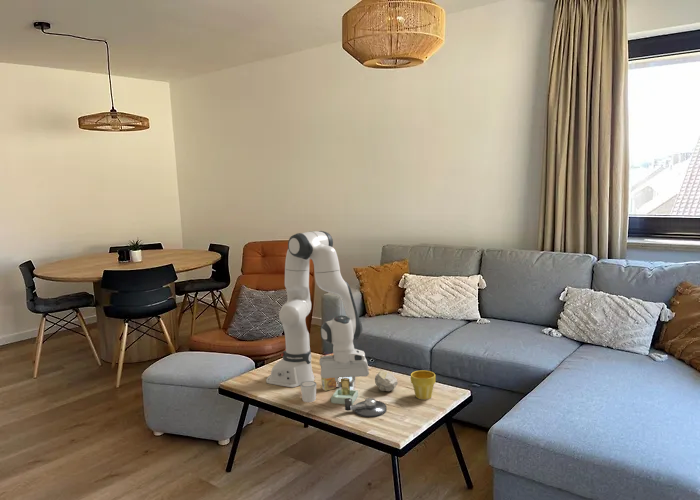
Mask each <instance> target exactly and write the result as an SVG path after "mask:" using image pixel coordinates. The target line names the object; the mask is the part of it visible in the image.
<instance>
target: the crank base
mask: <svg viewBox="0 0 700 500" xmlns="http://www.w3.org/2000/svg"><path fill="white" fill-rule="evenodd" d="M357 404H365V400H363V401H359V402H357V403H356V404H355V405H357ZM387 408H388V407H387V404H386V403H384V402H382V401H380V400H379V401H378V400H376V408H374V409H366V408H364V409H356V410H353V411H354V413H355V414H356V415H357V416H360V417H364V418H376V417H380V416H383V415H384V414H386V412H387Z"/></svg>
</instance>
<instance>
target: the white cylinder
mask: <svg viewBox="0 0 700 500" xmlns="http://www.w3.org/2000/svg"><path fill="white" fill-rule="evenodd" d="M299 386H300V393H301V399H302V402H304V403H313V402H314V401H316V399H317V382H316V381H305V382H302V383H301V384H300V385H299Z"/></svg>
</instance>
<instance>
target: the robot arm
mask: <svg viewBox="0 0 700 500" xmlns="http://www.w3.org/2000/svg"><path fill="white" fill-rule="evenodd" d="M333 245H334V240H333V237H332V235H331V234H330V233H329V232H327V231H323V230H318V231H315V230H313V231H311V230H309V231H306V232H297V233H295V234H292V235H291V236H290V237H289V239H288V240H287V251H286V256H285V261H284V262H285V263H284V287H285V290H286V296H287V300H286V302H285V303H284V304H283V305H282V306H281V308H280V310H279V313H278V317H279V321H280V322H281V324H282V329H283V332H284V337H285V339H284V340H285V349H284V350H283V352H282V353H281V357H282V358H281V359H280V360H278V361H277V362H276V363H275V364H274V365H273V367H272V369H271V373H270V374H269V375H268V377H266V380H265V381H266V384H270V385H275V386H281V387H288V388H296V387H298V386H300V384H301V383H302V382H305V381H314V380H315V379H316V378H315V377H316V376H315V375H314V373H313V367H312V350H311V347H310V345H311V344H310V333H309V330H308V327H307V323H306V318H307V317H308V316H309V314H310V313H311V310H312V301H311V293H310V292H311V291H310V260H312V263H313V270H314V279H315V282H316V286H318V288H319V289H321V290H322V291H324V292H327V293H330V294H334V295H337V296H339V297H340V298H341V301H342V304H343V307H344V311H345V315H340V314H339V315H336V316H334V317H333V318H332V319H331V320H328V321H327V320H326V321H324V322H323V323H322V325H321V326H320V337H321V339H322V340H323V341H324V342H326V343H327V344H332V345H333V347H332V351H333V352H332V353H333V355H331V356H323V357H321V358H319V361H318V362H319V365H320V377H322V378H335V381H336V382H337V384H338V387H340V388H341V382H339V381H338V378H339V377H342V378H351V380H350V388H352V387H354V382H355V380H356V378H357V377H367V376H368V375H369V374H370V372H369V365H368V363H369V362H368V360H367V358H366V353H365V351H364V350H361V349H357V348H355V345H354V340H358V339H359V338H360V337H361V335H362V333H363V331H364V330H363V325H362V321H361V319H360V317H359V314H358V310H357V306H356V304H355V299H354V296H353V293H352V289H351V287H350V284H349V283H348V282H347V281H346V280H344V278H343V276H342V274H341V267H340V261H339V257H338V253H337V251H336V249H335V248H334V247H333ZM314 382H315V381H314Z"/></svg>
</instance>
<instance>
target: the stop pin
mask: <svg viewBox="0 0 700 500" xmlns="http://www.w3.org/2000/svg"><path fill="white" fill-rule="evenodd" d="M350 381H351V380H350V377H342V379H341V387H340V389H341V391H342V394H343V395H348V394H350V390H351V387H350Z"/></svg>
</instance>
